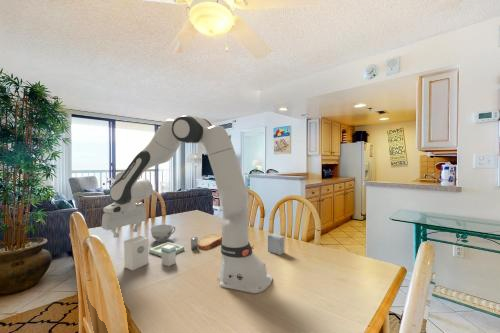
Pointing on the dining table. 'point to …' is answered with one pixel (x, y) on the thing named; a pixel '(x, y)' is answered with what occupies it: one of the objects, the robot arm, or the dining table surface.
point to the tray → (157, 249)
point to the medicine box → (276, 244)
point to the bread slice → (209, 242)
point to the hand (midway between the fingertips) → (126, 234)
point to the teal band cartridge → (168, 254)
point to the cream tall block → (136, 252)
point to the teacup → (162, 232)
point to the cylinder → (194, 243)
